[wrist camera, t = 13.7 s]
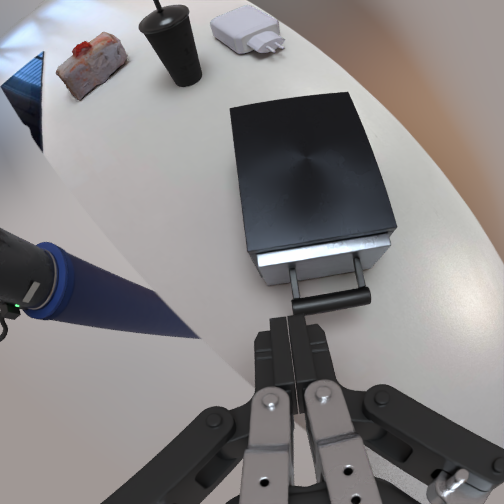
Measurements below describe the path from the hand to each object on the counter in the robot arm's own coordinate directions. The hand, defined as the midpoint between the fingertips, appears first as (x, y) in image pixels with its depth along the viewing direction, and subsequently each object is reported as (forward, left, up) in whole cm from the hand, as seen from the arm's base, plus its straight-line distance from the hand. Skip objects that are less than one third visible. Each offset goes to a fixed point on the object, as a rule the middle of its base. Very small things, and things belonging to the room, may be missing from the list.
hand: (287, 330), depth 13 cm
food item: (-7, +60, -21) cm, 64 cm away
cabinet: (+9, +12, -21) cm, 26 cm away
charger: (+21, +44, -21) cm, 53 cm away
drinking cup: (+7, +43, -21) cm, 49 cm away
